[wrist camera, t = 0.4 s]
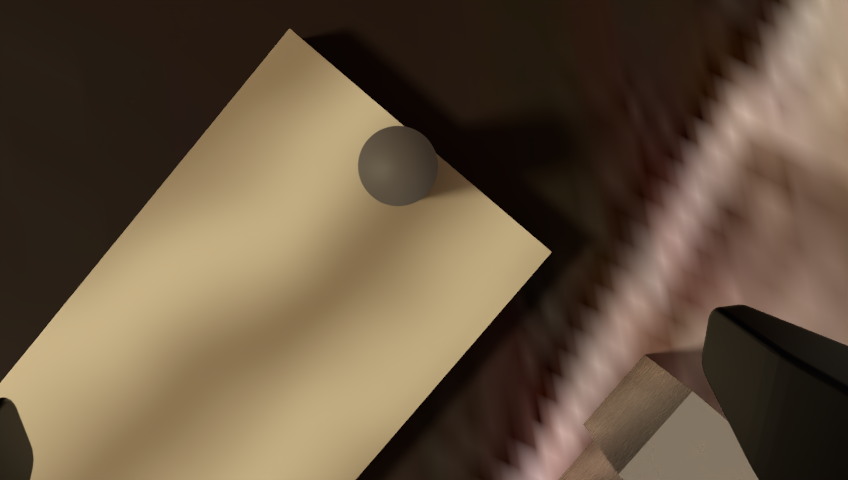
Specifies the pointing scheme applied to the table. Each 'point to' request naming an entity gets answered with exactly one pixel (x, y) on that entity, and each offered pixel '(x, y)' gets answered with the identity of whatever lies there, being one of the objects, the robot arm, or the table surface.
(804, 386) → the robot arm
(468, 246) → the beige wooden board
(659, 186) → the table surface
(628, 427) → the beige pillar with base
